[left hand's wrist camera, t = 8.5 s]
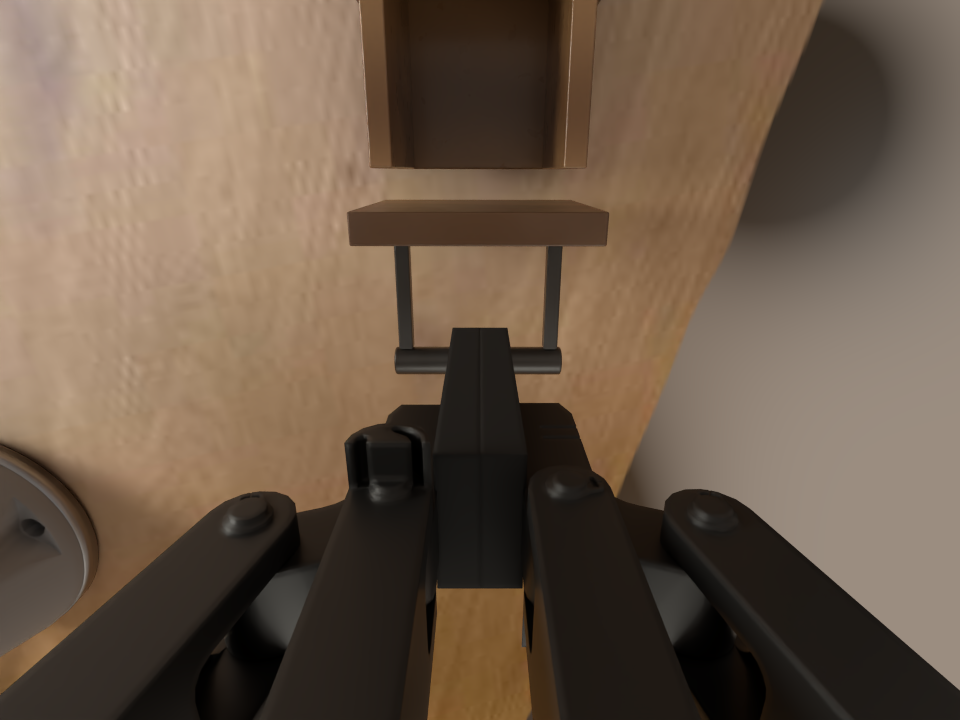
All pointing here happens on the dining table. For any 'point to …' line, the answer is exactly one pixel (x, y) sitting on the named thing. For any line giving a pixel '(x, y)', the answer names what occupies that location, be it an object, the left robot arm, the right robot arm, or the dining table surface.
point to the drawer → (478, 137)
